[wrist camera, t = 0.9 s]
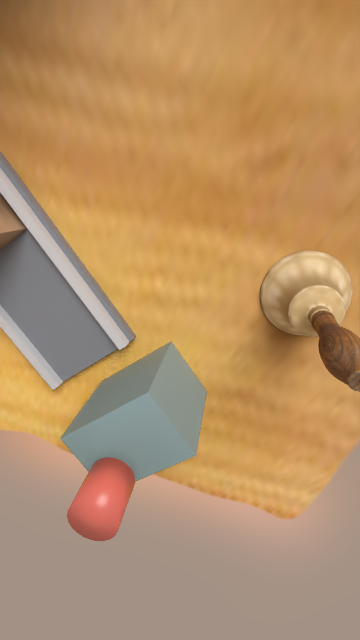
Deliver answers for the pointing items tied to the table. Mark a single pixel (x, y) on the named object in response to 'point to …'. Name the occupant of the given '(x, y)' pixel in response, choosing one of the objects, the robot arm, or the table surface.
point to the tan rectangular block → (8, 224)
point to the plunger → (102, 499)
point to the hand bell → (315, 308)
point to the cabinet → (142, 415)
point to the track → (52, 294)
